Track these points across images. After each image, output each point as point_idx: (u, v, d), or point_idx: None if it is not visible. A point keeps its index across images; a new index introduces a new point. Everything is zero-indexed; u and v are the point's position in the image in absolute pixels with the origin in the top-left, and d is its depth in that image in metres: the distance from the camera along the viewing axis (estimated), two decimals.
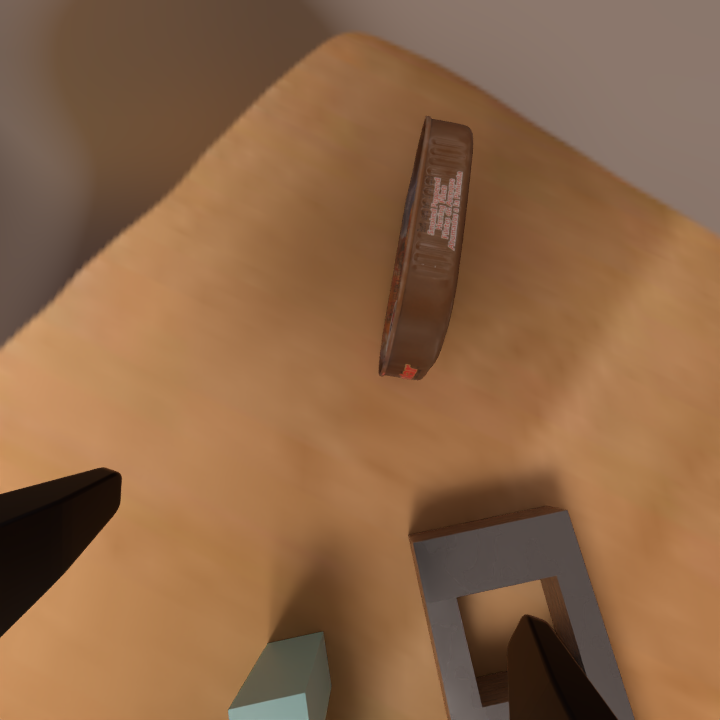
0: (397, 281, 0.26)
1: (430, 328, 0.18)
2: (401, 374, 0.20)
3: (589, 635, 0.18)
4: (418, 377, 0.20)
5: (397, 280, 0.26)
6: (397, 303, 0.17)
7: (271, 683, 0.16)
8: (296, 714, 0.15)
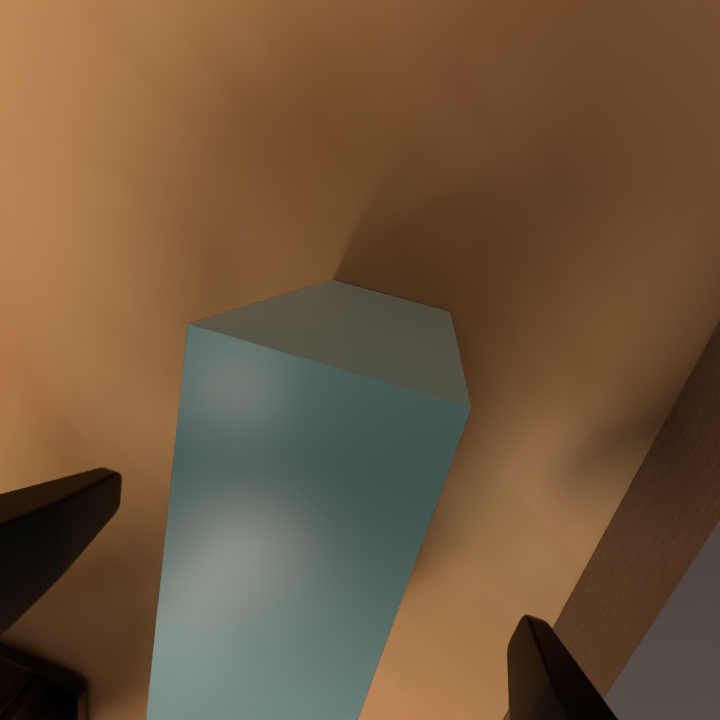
0: None
1: None
2: None
3: None
4: None
5: None
6: None
7: (340, 332, 0.05)
8: (409, 450, 0.04)
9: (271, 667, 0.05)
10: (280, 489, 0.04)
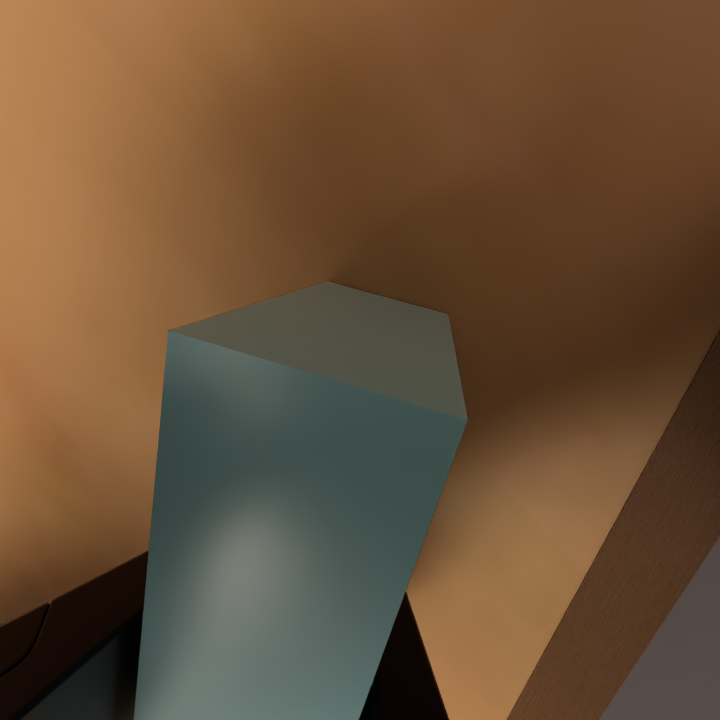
0: None
1: None
2: None
3: None
4: None
5: None
6: None
7: (332, 337, 0.05)
8: (403, 464, 0.04)
9: (260, 686, 0.05)
10: (267, 504, 0.04)
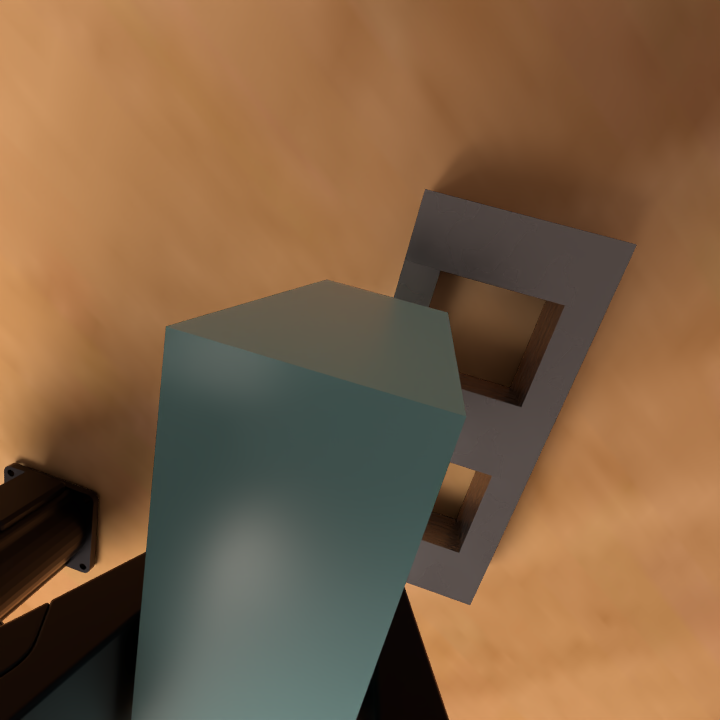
0: None
1: None
2: None
3: (554, 373, 0.16)
4: None
5: None
6: None
7: (331, 334, 0.05)
8: (401, 460, 0.04)
9: (257, 685, 0.05)
10: (265, 501, 0.04)
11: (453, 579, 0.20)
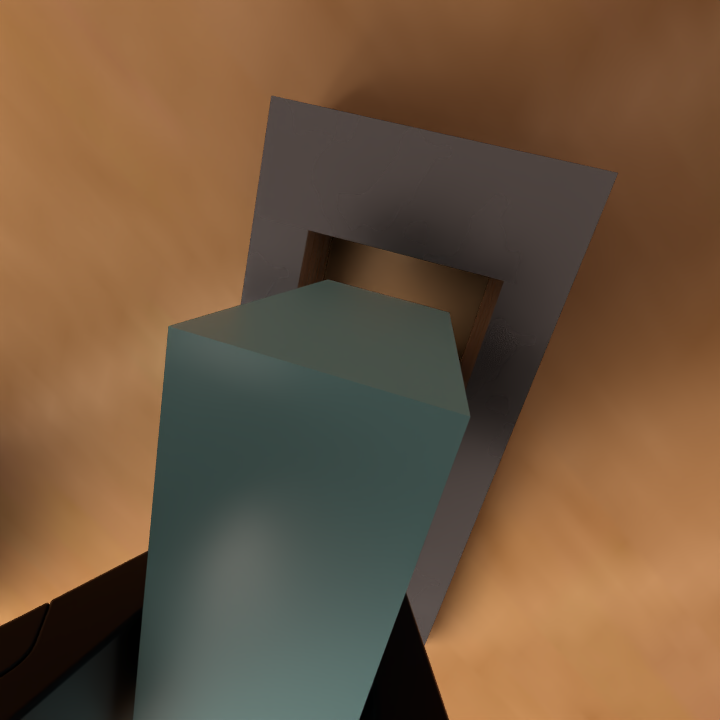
0: None
1: None
2: None
3: (493, 389, 0.10)
4: None
5: None
6: None
7: (333, 334, 0.05)
8: (404, 461, 0.04)
9: (260, 686, 0.05)
10: (269, 501, 0.04)
11: None
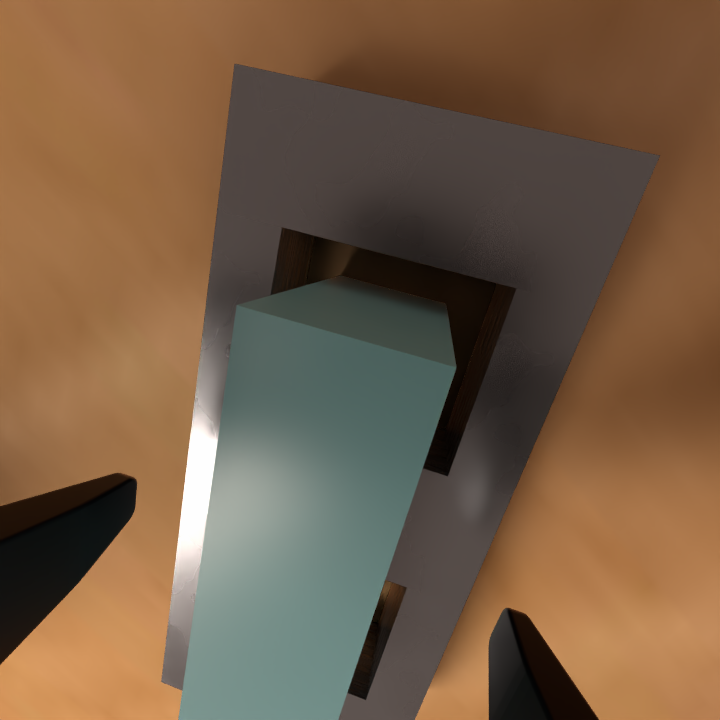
0: None
1: None
2: None
3: (503, 417, 0.09)
4: None
5: None
6: None
7: (353, 315, 0.06)
8: (410, 402, 0.05)
9: (296, 589, 0.06)
10: (307, 437, 0.06)
11: None
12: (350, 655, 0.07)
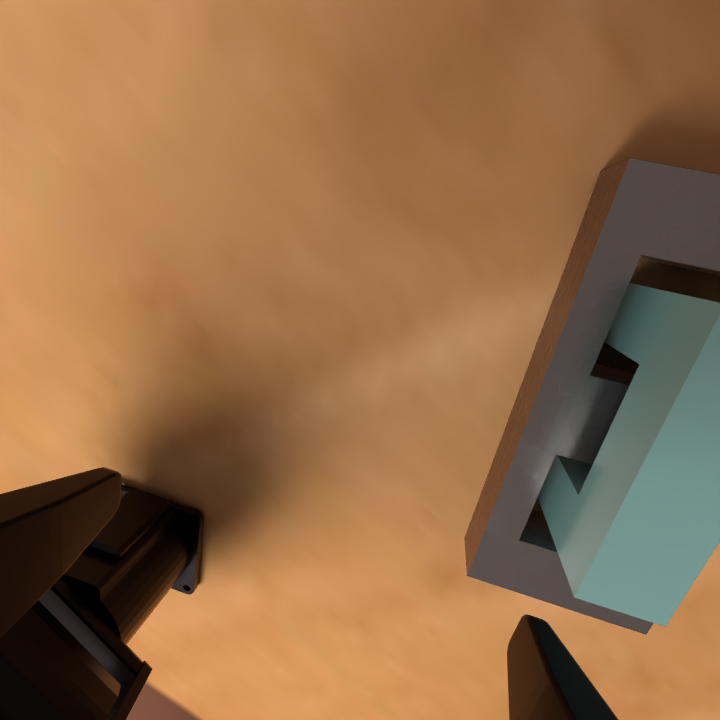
0: None
1: None
2: None
3: None
4: None
5: None
6: None
7: None
8: None
9: (713, 462, 0.11)
10: None
11: None
12: None
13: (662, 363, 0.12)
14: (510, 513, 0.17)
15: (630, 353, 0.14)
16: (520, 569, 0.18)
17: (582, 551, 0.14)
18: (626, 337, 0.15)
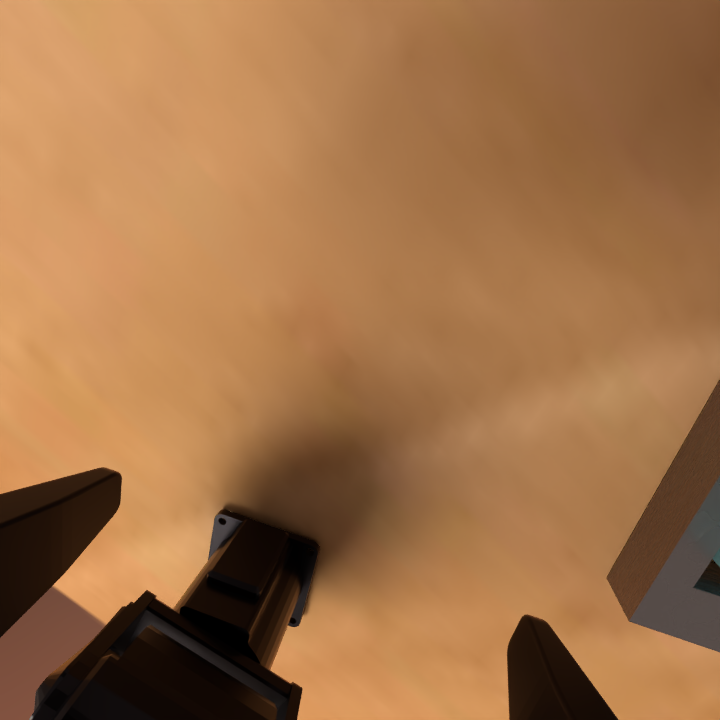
0: None
1: None
2: None
3: None
4: None
5: None
6: None
7: None
8: None
9: None
10: None
11: None
12: None
13: None
14: (688, 560, 0.17)
15: None
16: (689, 616, 0.17)
17: None
18: None
